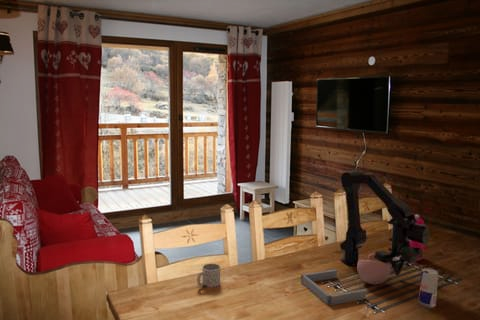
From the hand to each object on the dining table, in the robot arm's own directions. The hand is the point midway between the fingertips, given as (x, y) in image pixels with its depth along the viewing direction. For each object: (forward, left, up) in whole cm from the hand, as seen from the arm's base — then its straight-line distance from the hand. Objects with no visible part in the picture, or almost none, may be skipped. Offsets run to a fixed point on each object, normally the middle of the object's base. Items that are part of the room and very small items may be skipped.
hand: (397, 275), depth 161 cm
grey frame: (0, -29, -2) cm, 29 cm away
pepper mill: (-15, +23, -2) cm, 27 cm away
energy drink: (+20, -4, -2) cm, 21 cm away
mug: (-19, -71, -2) cm, 74 cm away
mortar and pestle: (0, -11, -2) cm, 12 cm away
